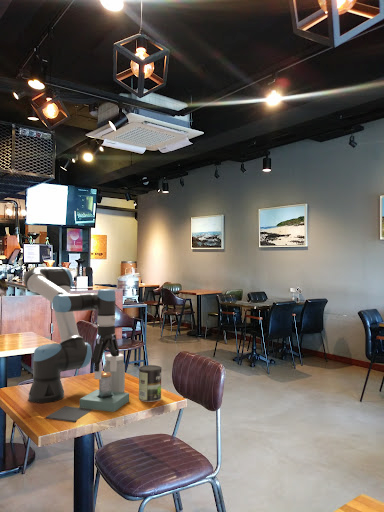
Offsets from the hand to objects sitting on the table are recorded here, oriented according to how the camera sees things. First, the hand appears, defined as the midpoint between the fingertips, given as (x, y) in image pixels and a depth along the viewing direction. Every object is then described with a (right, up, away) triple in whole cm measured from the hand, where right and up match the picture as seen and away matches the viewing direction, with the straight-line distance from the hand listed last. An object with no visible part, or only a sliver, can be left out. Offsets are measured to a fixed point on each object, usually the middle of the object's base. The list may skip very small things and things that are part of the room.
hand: (105, 375), depth 174 cm
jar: (0, -14, +16) cm, 21 cm away
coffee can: (+18, -14, +9) cm, 24 cm away
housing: (0, -13, 0) cm, 13 cm away
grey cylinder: (0, -13, 0) cm, 13 cm away
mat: (-12, -13, -11) cm, 21 cm away
